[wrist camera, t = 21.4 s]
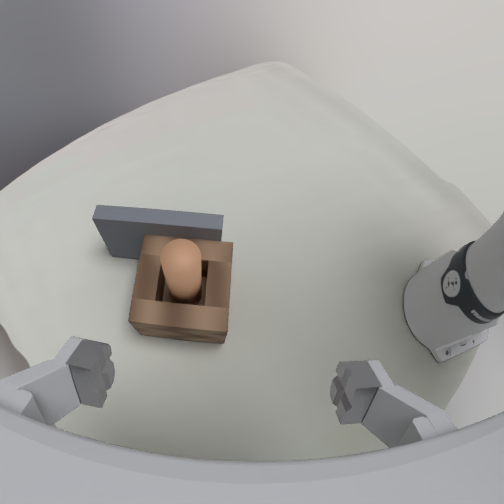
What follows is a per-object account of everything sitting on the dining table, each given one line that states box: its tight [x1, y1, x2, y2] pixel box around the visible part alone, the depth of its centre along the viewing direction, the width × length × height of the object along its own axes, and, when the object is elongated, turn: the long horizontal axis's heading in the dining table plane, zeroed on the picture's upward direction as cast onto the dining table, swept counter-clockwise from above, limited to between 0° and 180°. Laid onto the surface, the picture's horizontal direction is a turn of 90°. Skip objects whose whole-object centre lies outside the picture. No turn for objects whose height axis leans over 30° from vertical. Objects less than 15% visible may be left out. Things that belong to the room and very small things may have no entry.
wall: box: [92, 205, 224, 259], centre depth 39 cm, size 16×2×10 cm, turn 88°
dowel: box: [160, 239, 202, 305], centre depth 34 cm, size 4×4×11 cm
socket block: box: [128, 234, 233, 343], centre depth 37 cm, size 11×11×7 cm
